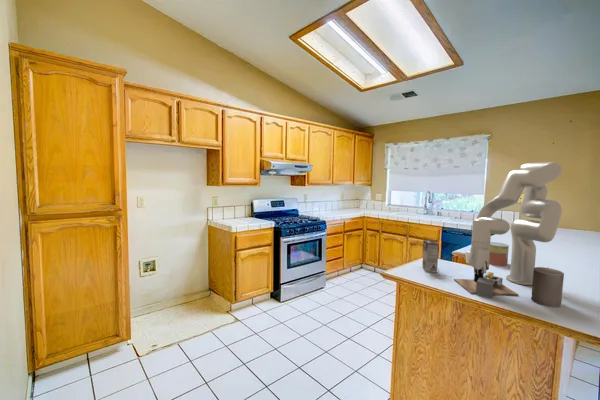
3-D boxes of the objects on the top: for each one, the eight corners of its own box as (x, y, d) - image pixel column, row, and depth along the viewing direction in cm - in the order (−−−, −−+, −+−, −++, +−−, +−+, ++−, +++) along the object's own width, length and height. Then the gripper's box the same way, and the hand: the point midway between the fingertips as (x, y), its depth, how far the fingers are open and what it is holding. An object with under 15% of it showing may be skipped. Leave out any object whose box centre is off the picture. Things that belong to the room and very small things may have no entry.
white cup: (462, 261, 177) (462, 250, 177) (472, 261, 178) (473, 250, 177) (469, 264, 170) (470, 253, 170) (480, 264, 171) (481, 253, 170)
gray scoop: (486, 280, 142) (486, 274, 142) (502, 284, 137) (502, 278, 136) (472, 288, 131) (472, 282, 131) (488, 293, 126) (489, 286, 126)
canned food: (508, 267, 166) (509, 247, 165) (485, 264, 172) (486, 244, 171) (507, 262, 175) (508, 243, 174) (485, 259, 181) (486, 241, 180)
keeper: (478, 289, 132) (479, 277, 132) (494, 293, 128) (495, 280, 128) (475, 294, 127) (476, 281, 126) (491, 298, 123) (492, 284, 123)
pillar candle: (525, 297, 124) (527, 264, 122) (545, 296, 124) (548, 263, 123) (545, 308, 114) (549, 272, 113) (568, 307, 115) (571, 271, 113)
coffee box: (421, 266, 166) (422, 239, 165) (433, 267, 165) (434, 240, 164) (425, 271, 157) (426, 243, 156) (437, 272, 156) (439, 243, 155)
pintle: (491, 282, 140) (491, 272, 139) (493, 283, 137) (494, 273, 137) (486, 281, 140) (486, 272, 140) (488, 283, 138) (489, 273, 137)
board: (495, 282, 142) (496, 280, 142) (518, 296, 125) (518, 294, 125) (454, 280, 144) (454, 278, 144) (470, 293, 127) (470, 292, 127)
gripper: (464, 240, 142) (462, 276, 144) (480, 248, 127) (477, 287, 129) (480, 241, 141) (478, 277, 143) (498, 248, 127) (495, 288, 128)
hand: (478, 282), depth 136 cm, fingers closed
